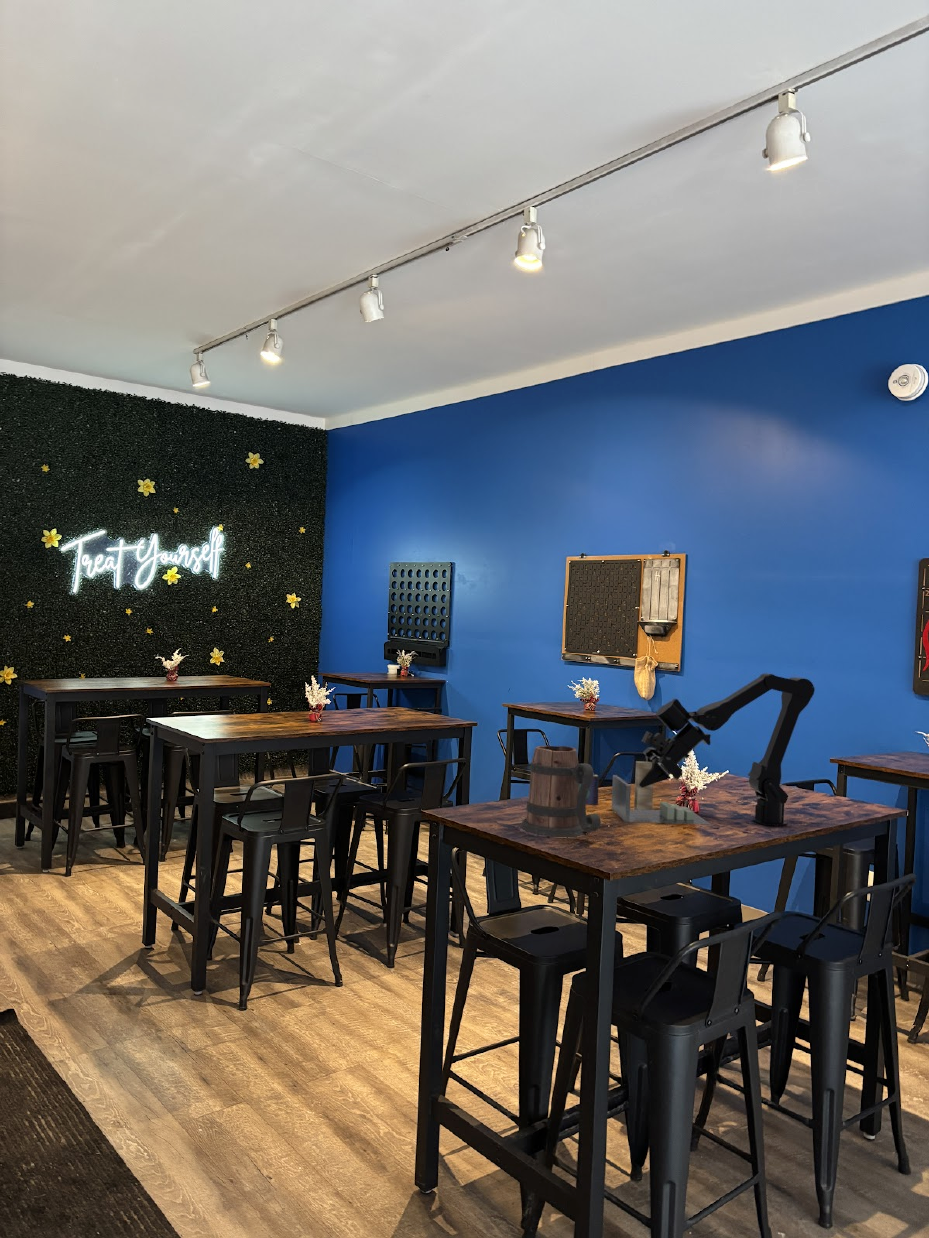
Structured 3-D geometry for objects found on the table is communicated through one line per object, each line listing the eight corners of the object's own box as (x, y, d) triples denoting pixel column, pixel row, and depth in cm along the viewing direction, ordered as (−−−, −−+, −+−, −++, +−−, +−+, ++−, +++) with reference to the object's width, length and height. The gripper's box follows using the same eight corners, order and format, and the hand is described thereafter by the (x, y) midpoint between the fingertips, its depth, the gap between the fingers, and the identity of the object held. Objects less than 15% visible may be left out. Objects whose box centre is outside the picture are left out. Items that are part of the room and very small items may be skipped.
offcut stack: (685, 814, 246) (686, 802, 246) (693, 820, 239) (694, 808, 239) (659, 813, 245) (660, 802, 245) (667, 819, 238) (667, 807, 238)
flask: (563, 805, 257) (565, 766, 257) (567, 803, 259) (569, 764, 259) (596, 809, 253) (598, 769, 253) (599, 807, 255) (601, 768, 255)
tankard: (503, 826, 226) (506, 744, 226) (554, 820, 236) (558, 741, 236) (569, 848, 207) (573, 758, 207) (622, 840, 217) (626, 754, 217)
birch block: (649, 807, 243) (651, 761, 243) (652, 809, 240) (654, 763, 240) (634, 807, 243) (636, 761, 243) (636, 809, 240) (638, 762, 240)
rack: (691, 814, 251) (693, 777, 251) (711, 828, 235) (712, 788, 235) (611, 812, 249) (612, 775, 249) (625, 825, 233) (626, 785, 233)
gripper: (652, 717, 251) (610, 756, 251) (671, 725, 233) (626, 768, 232) (679, 747, 252) (637, 787, 251) (701, 757, 233) (656, 800, 232)
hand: (638, 784), depth 242 cm, fingers closed on birch block, 3 cm apart
